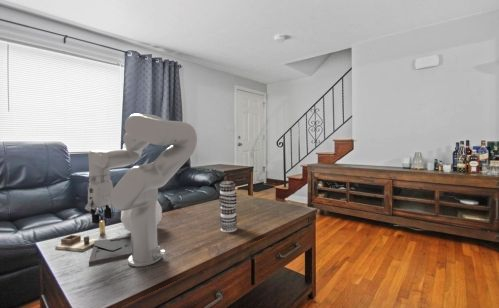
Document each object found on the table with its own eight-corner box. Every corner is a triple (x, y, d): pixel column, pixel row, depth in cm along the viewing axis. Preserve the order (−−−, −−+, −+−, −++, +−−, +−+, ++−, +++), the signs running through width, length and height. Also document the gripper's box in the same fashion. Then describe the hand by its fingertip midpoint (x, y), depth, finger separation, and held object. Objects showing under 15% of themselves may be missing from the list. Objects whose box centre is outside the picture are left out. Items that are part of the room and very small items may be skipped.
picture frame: (94, 245, 115) (88, 265, 96) (94, 240, 115) (88, 260, 96) (133, 238, 122) (134, 256, 103) (133, 234, 122) (134, 251, 103)
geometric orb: (144, 240, 136) (155, 205, 146) (162, 236, 123) (173, 198, 134) (108, 230, 125) (123, 193, 136) (123, 225, 112) (139, 184, 123)
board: (101, 242, 118) (100, 233, 118) (82, 251, 108) (82, 242, 108) (75, 239, 121) (75, 231, 121) (55, 248, 111) (54, 239, 111)
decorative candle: (237, 232, 126) (235, 183, 125) (218, 232, 127) (217, 183, 125) (238, 226, 136) (237, 180, 134) (221, 226, 136) (219, 180, 134)
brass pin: (106, 233, 128) (105, 220, 128) (102, 235, 126) (101, 221, 125) (102, 233, 129) (101, 220, 128) (98, 235, 126) (97, 221, 126)
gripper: (90, 183, 98) (92, 228, 99) (122, 176, 115) (123, 215, 116) (74, 182, 100) (77, 227, 101) (108, 175, 116) (109, 214, 118)
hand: (102, 220), depth 108 cm, fingers open, 5 cm apart
